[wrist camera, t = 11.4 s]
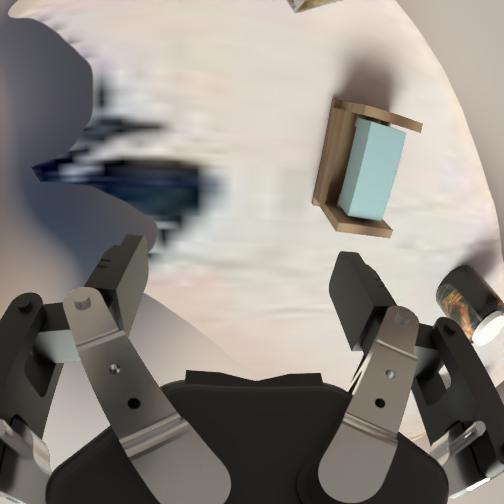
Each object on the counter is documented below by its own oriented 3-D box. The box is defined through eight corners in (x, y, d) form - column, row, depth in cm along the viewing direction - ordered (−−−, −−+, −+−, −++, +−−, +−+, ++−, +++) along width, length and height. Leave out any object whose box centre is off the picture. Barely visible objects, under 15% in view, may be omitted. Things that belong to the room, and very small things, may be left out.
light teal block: (338, 203, 38) (347, 215, 35) (358, 117, 32) (371, 121, 29) (369, 208, 39) (381, 221, 36) (391, 127, 33) (406, 132, 30)
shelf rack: (311, 202, 43) (328, 230, 35) (332, 98, 35) (357, 102, 27) (365, 210, 44) (390, 238, 36) (389, 114, 36) (422, 123, 28)
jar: (466, 254, 49) (507, 298, 37) (479, 280, 54) (514, 321, 41) (428, 292, 54) (462, 342, 41) (445, 313, 58) (475, 358, 45)
